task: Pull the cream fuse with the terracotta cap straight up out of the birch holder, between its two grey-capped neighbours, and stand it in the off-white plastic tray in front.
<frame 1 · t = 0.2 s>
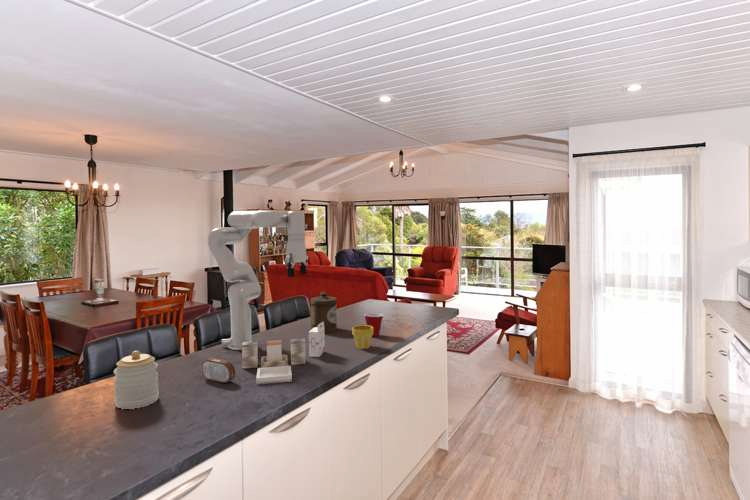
hand: (297, 275, 190), 37 cm above the worktop, tool pointing down, fingers open, 9 cm apart
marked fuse: (274, 364, 178), resting in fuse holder
jar: (137, 402, 140), on the worktop
tin: (218, 381, 160), on the worktop
plant pot: (362, 347, 203), on the worktop
plastic cup: (373, 336, 224), on the worktop
ink cartridge box: (316, 354, 192), on the worktop
tray: (274, 377, 162), on the worktop
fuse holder: (274, 364, 178), on the worktop
wooden container: (323, 330, 237), on the worktop
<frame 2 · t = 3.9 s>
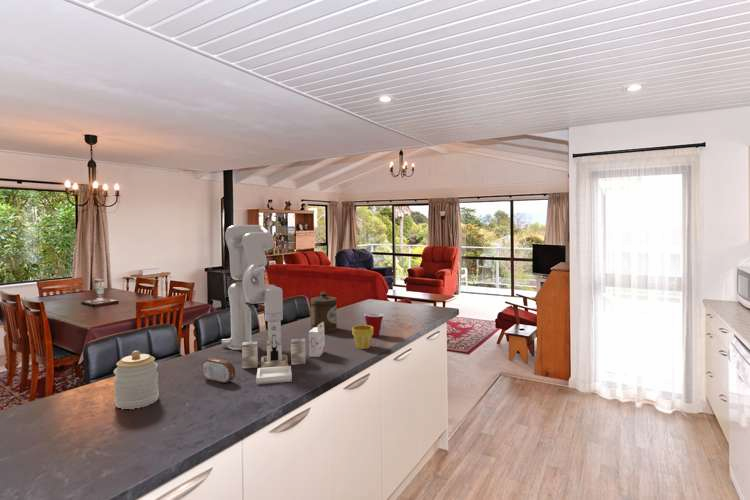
hand: (274, 358, 178), 3 cm above the worktop, tool pointing down, fingers closed on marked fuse, 4 cm apart
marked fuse: (274, 364, 178), resting in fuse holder, touching gripper
everything else where it was.
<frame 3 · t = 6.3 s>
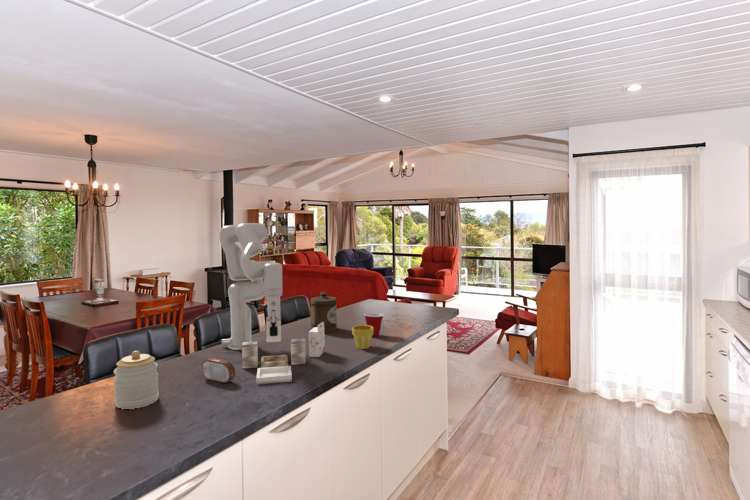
hand: (273, 333, 177), 13 cm above the worktop, tool pointing down, fingers closed on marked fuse, 4 cm apart
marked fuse: (273, 340, 178), point 10 cm above the worktop, touching gripper
everything else where it was.
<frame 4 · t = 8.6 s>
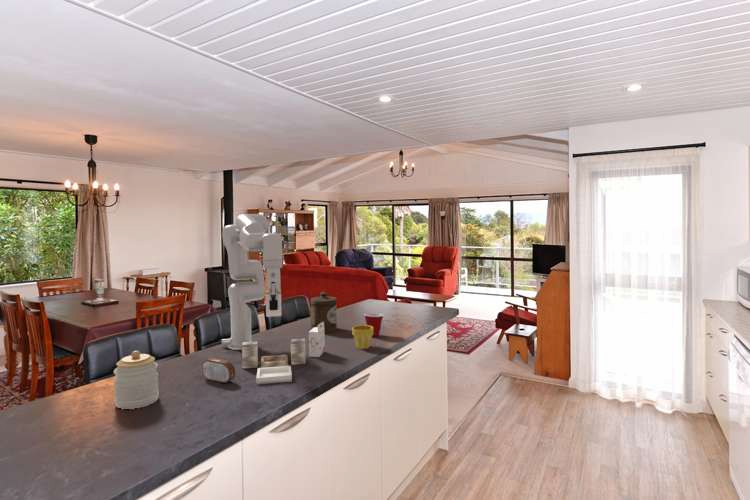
hand: (273, 308, 169), 26 cm above the worktop, tool pointing down, fingers closed on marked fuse, 4 cm apart
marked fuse: (273, 315, 169), point 23 cm above the worktop, touching gripper
everything else where it was.
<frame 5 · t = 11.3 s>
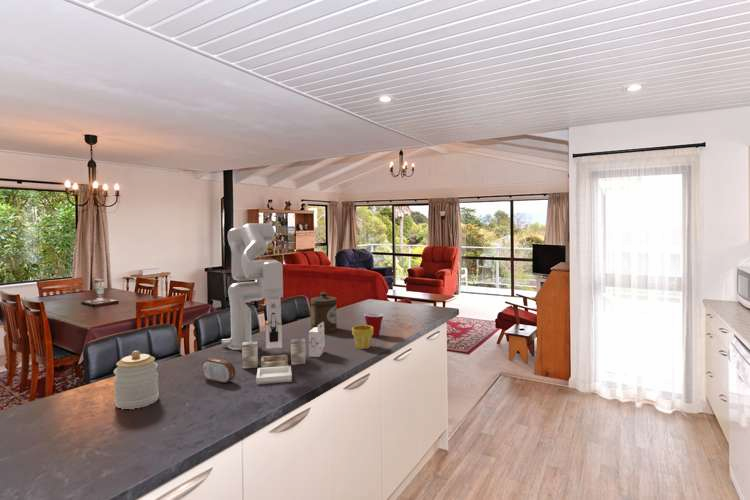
hand: (273, 339, 161), 15 cm above the worktop, tool pointing down, fingers closed on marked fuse, 4 cm apart
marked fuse: (274, 346, 161), point 12 cm above the worktop, touching gripper
everything else where it was.
when the fingers open (5 cm above the worktop, at t = 13.5 s): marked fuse drops 1 cm, resting on tray.
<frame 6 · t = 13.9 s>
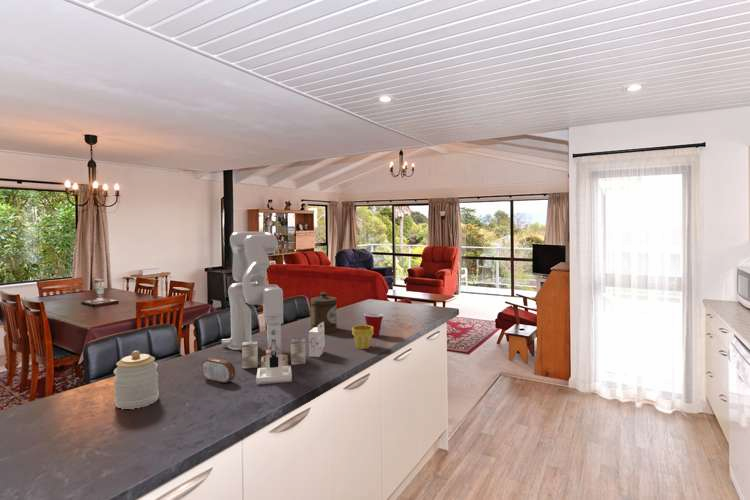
hand: (274, 363, 162), 6 cm above the worktop, tool pointing down, fingers open, 8 cm apart
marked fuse: (274, 375, 162), point 1 cm above the worktop, touching tray
everything else where it was.
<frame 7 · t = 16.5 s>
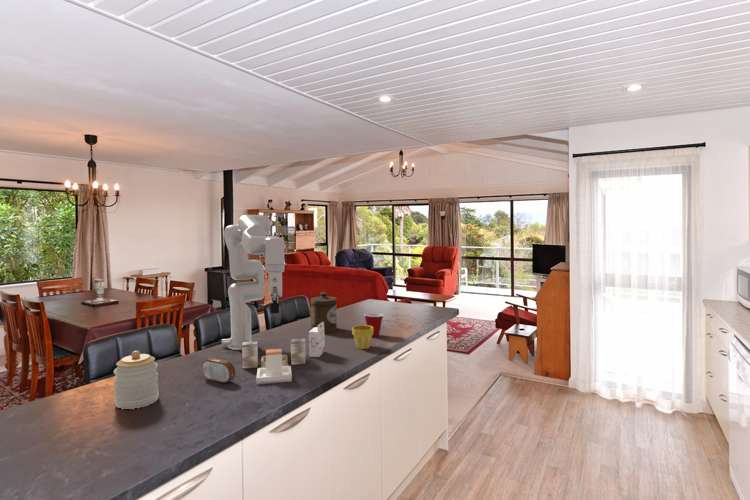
hand: (275, 310, 167), 25 cm above the worktop, tool pointing down, fingers open, 9 cm apart
nothing on the worktop moved.
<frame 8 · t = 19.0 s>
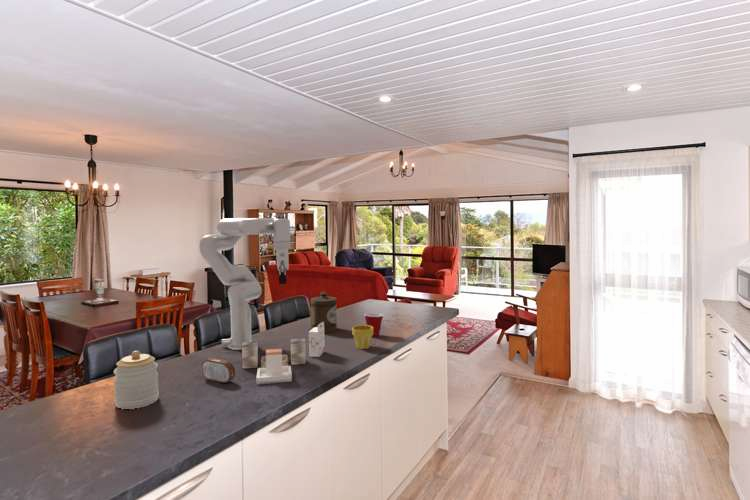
hand: (282, 282, 191), 33 cm above the worktop, tool pointing down, fingers open, 9 cm apart
nothing on the worktop moved.
at the end: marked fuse 0.1 cm off-centre on the tray, point 0.8 cm above the tray's base; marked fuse tilted 0°; the gripper is holding nothing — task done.
